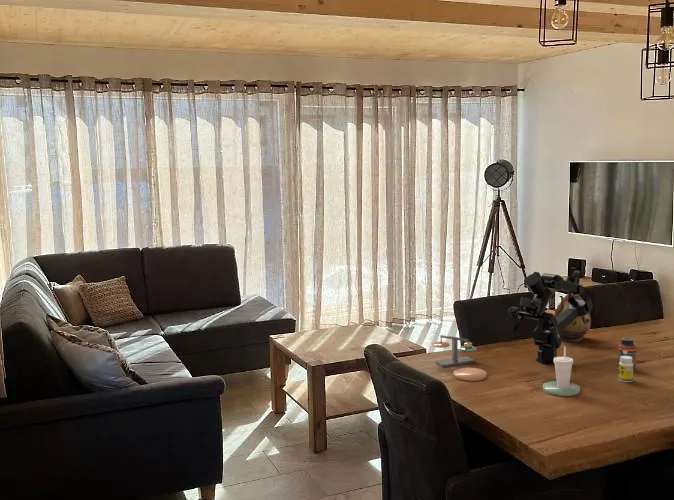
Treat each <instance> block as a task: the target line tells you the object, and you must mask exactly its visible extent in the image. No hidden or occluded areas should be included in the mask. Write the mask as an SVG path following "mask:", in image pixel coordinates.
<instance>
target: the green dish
mask: <svg viewBox="0 0 674 500" xmlns="http://www.w3.org/2000/svg"><path fill="white" fill-rule="evenodd" d="M542 390H543V391H544V393H546V394H549V395H552V396H558V397H572V396H573V397H575V396H577V395H579V394H580V393H581V387H580V386H579V385H578V384H576V383H574V382H569V388H566V389H563V388H559V387H557V380H552V381H546V382H544V383H543V384H542Z"/></svg>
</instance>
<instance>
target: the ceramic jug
mask: <svg viewBox="0 0 674 500" xmlns="http://www.w3.org/2000/svg"><path fill="white" fill-rule="evenodd" d="M581 272H582V271H580V270H574V271H573V272H572V276H571V275H568V276H567V277H566V280H565V281H569V282H572V283H575V284H580V280H581ZM567 292H568V291H567ZM573 296H574V298H581V297H580V296H579V294H573ZM568 297H569V292H568V293H567V294H566V295H565V296H564V297H563V299H562V300H561V301H560V302H559V304H558V305H557V307H556V309H555V311H554V314H553V315H554V316H555V318H557V317H558V316H559V315H560V314H562V313H563V312H564V311H565V310H567V309H568V303H569V302H568ZM581 299H582V298H581ZM590 313H591V312H590ZM590 313H589V314H587V315H585V316H580V317H577V318H576V319H575V320H573V321H572V322H571V323H570V324H569V325H567V326H566V327H565V328H564V329H563V330H561V331H560V332H559V333H558V338H559V339H560V340H561V341H563V342H568V343H569V342H572V343H578V342H582V340H583V338H584V336H585V335H587V333H589V331H590V328H591V325H592V324H591V323H592V319H591V314H590Z"/></svg>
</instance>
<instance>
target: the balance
mask: <svg viewBox="0 0 674 500" xmlns="http://www.w3.org/2000/svg"><path fill="white" fill-rule="evenodd" d="M439 337H440V341H435V342H433V343H432V346H433V347H434V348H440V349H441V348H443V349H445V348H448V347H450V345H451V358H446V359H439V360H435V362H434V363H435V364H436V365H438V366H439V367H440V368H441V367H442V368H449V367H455V366H456V367H457V366H462V365H467V364H468V365H469V364H475V361H476V360H475V359H473V358H471V357H469V356H468V355H467V356H459V357H458V355H459V350H460V351H461V352H466V353H469V352H470V353H471V352H475V351H477V347H476V346H473V342H470V339H469V338H463V337H457V336H452V335H451V336H450V335H444V334H440V336H439ZM442 339H448V340H451V344H450V343H449V342H446V341H442ZM458 341H461V342H464V344H463V345H462V346H460V347H458ZM458 348H459V349H458Z"/></svg>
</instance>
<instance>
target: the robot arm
mask: <svg viewBox="0 0 674 500" xmlns="http://www.w3.org/2000/svg"><path fill="white" fill-rule="evenodd" d="M524 284H525V286H526V287H527V288H528V289H529V291H530V292H531V293H532V294H534V295H533V297H532V298H531V297H529V298H528V297H522V296H521V298H520V303H519V307H516V306H509V308H508V309H507V313H508V314H509V316H510V317H511V319H512V324H511V333H512V334H513V335H514V334H515V333H516V332H517V330H518V329H519V328H520V326H521V325H522V323H523V320H524V319H525V318H526V319H530V320H531V319H532V320H535V321H536V320H537V321H538V324H537V325H536V326H535V327H536V328H535V329H534V330H533V332H532V338H533V342H534V346H538V350H537V358H535V361H537V362H540V363H542V364H544V365H551V364H555V363H554V362H553V361H554V358H555V357H558V356H557V355H558V354H557V353H558V350H557V349H560V347H561V346H562V340H560V339H559V334H558V333H559V332H560V331H561V330H563V329H564V328H565V327H566V326H567V325H569V324H570V323H571V322H572V321H573V320H575V319H576V318H577V317H580V316H585V315H587V314H589V313H591V312H592V311H593V308H594V306H593V301H592V298H591V295H589V293H587V291H586V290H585V288H584V285H582V284H580V283H579V284H575V283H572V282H569V281H566V280H565V279H564V277H562V276H561V275H559V274H555V273H554V274H553V273H542V275H541V274H540V272H539V271H533V273H531V274H529V275H528V276H526V277H525V278H524ZM552 290H555V291H556V290H557V291H559V290H561V291H564V292H569V297H568V302H569V303H568V309H567V310H565V311H564V312H563V313H562V314H560V315H559V316H558V317H557V318H555V316H554V314H553V313H552V312H547V310H548V307H547V306H548V304H549V302H550V300H554V299H555V296H554V292H553V291H552ZM573 294H579V296H580V297H581V298H582V299H581V298H574V296H573ZM520 306H521V307H522V308H523V310H524V311H522V310H521V308H520Z"/></svg>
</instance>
